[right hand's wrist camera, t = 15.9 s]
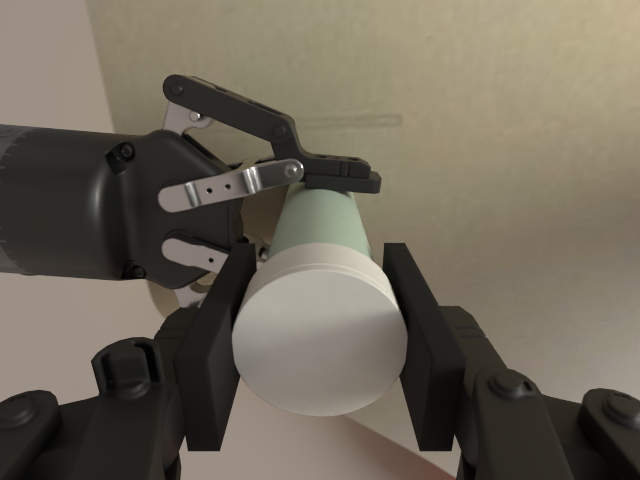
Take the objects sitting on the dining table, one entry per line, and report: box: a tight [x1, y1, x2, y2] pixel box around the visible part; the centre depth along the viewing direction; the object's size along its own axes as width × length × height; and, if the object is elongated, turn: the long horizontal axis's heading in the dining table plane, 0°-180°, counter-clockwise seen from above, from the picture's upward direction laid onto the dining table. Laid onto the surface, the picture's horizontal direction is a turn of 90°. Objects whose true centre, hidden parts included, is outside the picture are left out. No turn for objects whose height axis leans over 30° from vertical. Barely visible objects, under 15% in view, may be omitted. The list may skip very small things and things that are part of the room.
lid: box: [232, 243, 408, 417], centre depth 11 cm, size 5×5×2 cm
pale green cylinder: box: [266, 182, 374, 262], centre depth 19 cm, size 4×4×16 cm
